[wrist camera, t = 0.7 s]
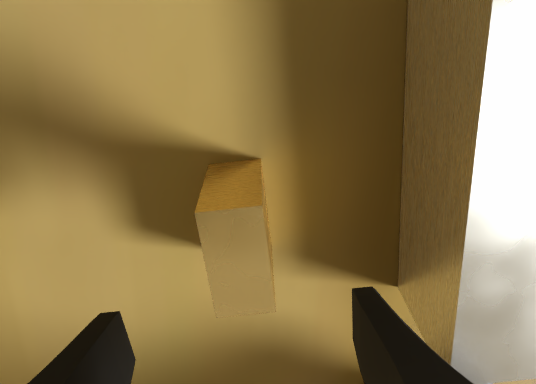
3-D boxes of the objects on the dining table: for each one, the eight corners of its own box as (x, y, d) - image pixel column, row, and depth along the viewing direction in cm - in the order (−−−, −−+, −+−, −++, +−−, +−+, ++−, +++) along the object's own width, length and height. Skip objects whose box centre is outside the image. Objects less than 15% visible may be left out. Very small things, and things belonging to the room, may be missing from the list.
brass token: (271, 246, 21) (275, 311, 17) (224, 251, 21) (216, 318, 17) (260, 158, 19) (262, 205, 15) (208, 164, 19) (194, 212, 15)
